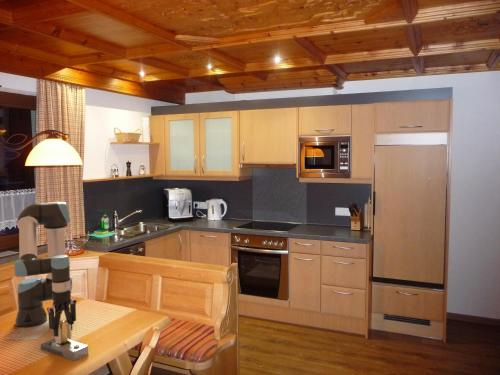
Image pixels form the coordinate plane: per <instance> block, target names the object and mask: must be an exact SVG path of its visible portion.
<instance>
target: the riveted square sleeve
mask: <svg viewBox="0 0 500 375" xmlns="http://www.w3.org/2000/svg"><path fill="white" fill-rule="evenodd" d="M40 349H41V350H44V351H45V352H49V353H52V354H55V355H58V356H60V357H63V358H66V359H69V360H72V361H73V362H76V361H78V360H79V359H81V358H83V357H85V356H87V355H89V345H88V344H84V343H81V342H78V341H75V340H73V339H69V338H68V344H66V345H64V346H61V345H60V344H59V343H56V338H53V339H51V340H49V341H46V342H43V343H41V344H40Z"/></svg>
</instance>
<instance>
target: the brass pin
mask: <svg viewBox="0 0 500 375" xmlns="http://www.w3.org/2000/svg"><path fill="white" fill-rule="evenodd" d="M67 324H68V323H67V320H66V319H63V320H60V323H59V329H60V331H61V343H60V345H61V346H64V345H66V344H68V339H69V338H68V337H67Z"/></svg>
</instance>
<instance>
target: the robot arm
mask: <svg viewBox="0 0 500 375" xmlns="http://www.w3.org/2000/svg"><path fill="white" fill-rule="evenodd" d="M68 208H69V207H68V205H67V203H66V201H50V202H35V203H31V204H29V205H27V206H26V207H25V208H23V209H22V210H21V212H20V213H19V215H18V217H17V220H16V225H17V228H18V230H19V232H18V238H19V243H18V244H19V246H18V247H19V248H18V249H19V254H18V257H19V258H18V260H15V261H14V263H13V264H14V267H13V268H14V276H15V277H17V278H22V277H23V278H24V277H25V279H23V280H21V281H20V282H19V283H17V291H16V292H17V303H18V306H17V307H18V311H17V313H16V317H15V321H14V322H15V326H16V327H19V328H29V327H35V326H36V327H37V326H39V325H41V324H42V325H43V324H44V323H45V322H46V321H47V320H48V328H49V330H53V336H54V337H55V338H54V339H56V343H59V344H60V343H61V331H60V329H59V323H60V321H61V316H62V314H63V313H64V316H65V320H66V321H67V337H68V339H69V340H72V331H73V325H75V322H76V321H77V310H76V309H77V308H76V305H77V299H73V298H71V297H72V294H71V293H72V288H73V276H72V275H71V269H70V266H71V265H70V264H71V262H70V256H69V255H67V254H66V237H65V236H66V235H65V234H66V232H65V231H66V230H65V229H66V228H68V224H70V223H71V219H70V213H69V209H68ZM42 225H43V229H44V230H46V233H47V234H46V235H47V236H46V237H47V256H46V257H39V258H38V236H37V228H38V226H42ZM38 275H45V279H43V278H42V277H41V276H38ZM31 276H32V277H31ZM33 276H34V277H33ZM26 277H29V278H26ZM48 301H53V302H52V305H51V306H50V307H46V310H45V308H44V303H43V302H48ZM46 311H47V312H46ZM47 313H48V314H47Z"/></svg>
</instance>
